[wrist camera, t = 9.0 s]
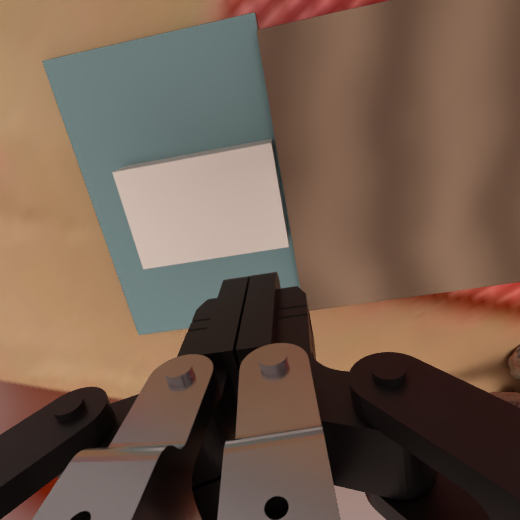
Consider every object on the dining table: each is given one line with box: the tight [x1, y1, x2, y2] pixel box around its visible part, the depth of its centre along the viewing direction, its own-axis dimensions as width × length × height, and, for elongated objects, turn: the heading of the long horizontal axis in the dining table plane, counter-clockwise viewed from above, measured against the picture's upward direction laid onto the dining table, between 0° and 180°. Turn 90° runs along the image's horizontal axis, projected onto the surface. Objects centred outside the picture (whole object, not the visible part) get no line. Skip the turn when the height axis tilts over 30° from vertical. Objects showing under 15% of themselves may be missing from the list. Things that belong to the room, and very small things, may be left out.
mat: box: [42, 12, 300, 335], centre depth 26 cm, size 12×18×1 cm, turn 11°
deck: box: [257, 0, 520, 311], centre depth 23 cm, size 13×16×2 cm
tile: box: [112, 139, 289, 269], centre depth 25 cm, size 9×6×2 cm, turn 101°
